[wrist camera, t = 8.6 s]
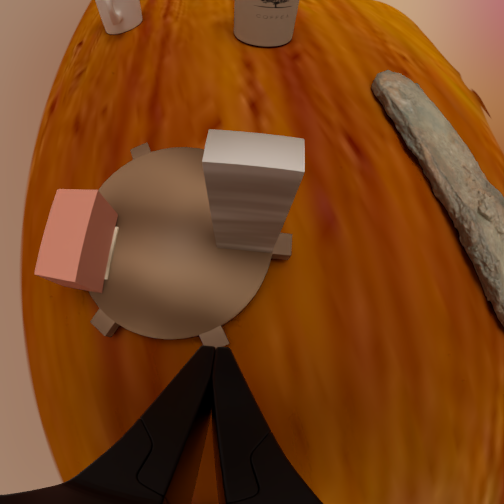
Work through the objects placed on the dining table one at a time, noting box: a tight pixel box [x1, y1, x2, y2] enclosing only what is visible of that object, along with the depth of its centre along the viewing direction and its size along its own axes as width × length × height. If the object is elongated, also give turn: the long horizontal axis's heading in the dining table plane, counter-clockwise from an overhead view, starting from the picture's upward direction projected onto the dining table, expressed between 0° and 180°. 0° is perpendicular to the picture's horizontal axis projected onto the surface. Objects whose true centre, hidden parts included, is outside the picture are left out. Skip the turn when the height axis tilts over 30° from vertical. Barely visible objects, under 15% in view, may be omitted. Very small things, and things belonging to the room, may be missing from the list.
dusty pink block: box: [34, 189, 118, 293], centre depth 18 cm, size 4×6×4 cm, turn 175°
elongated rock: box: [371, 70, 504, 327], centre depth 25 cm, size 35×5×10 cm
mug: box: [95, 0, 142, 34], centre depth 27 cm, size 10×7×12 cm, turn 11°
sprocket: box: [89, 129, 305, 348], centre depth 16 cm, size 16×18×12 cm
